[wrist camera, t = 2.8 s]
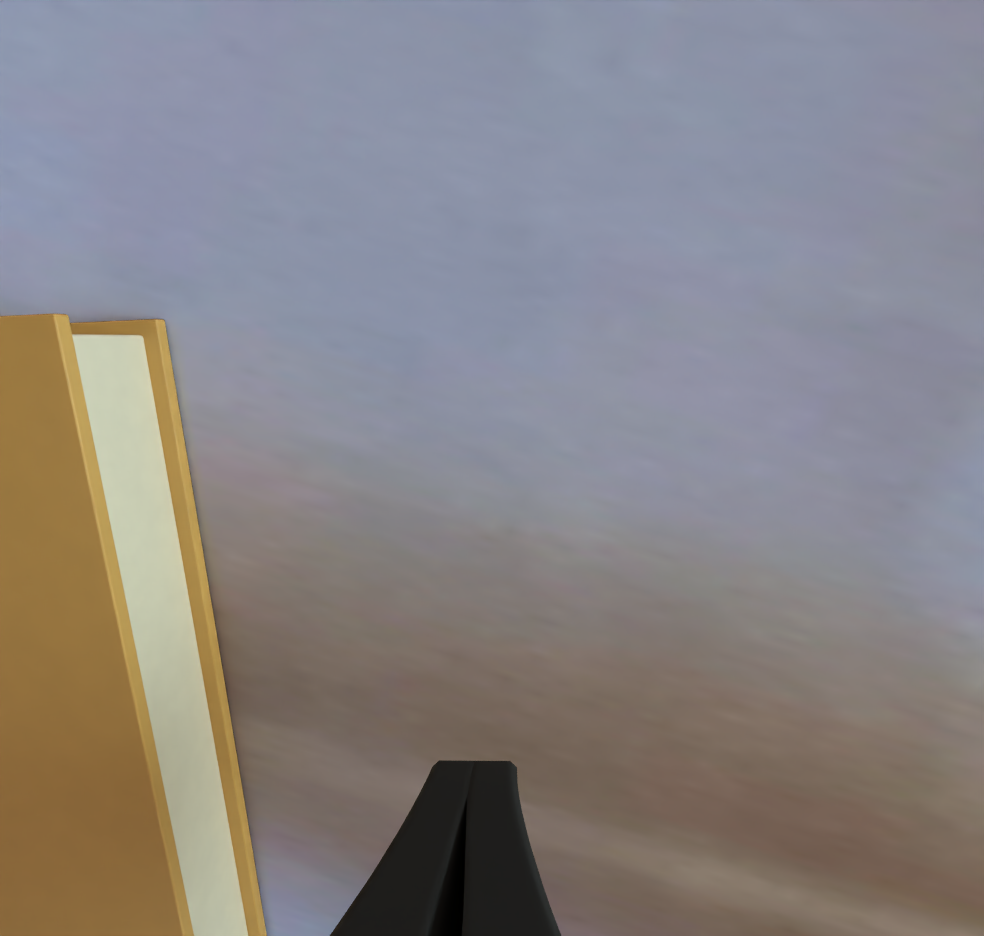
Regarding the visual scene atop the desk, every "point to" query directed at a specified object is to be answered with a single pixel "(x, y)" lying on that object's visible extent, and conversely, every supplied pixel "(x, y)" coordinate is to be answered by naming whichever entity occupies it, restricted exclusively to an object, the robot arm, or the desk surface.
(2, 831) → the book
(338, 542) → the desk surface
